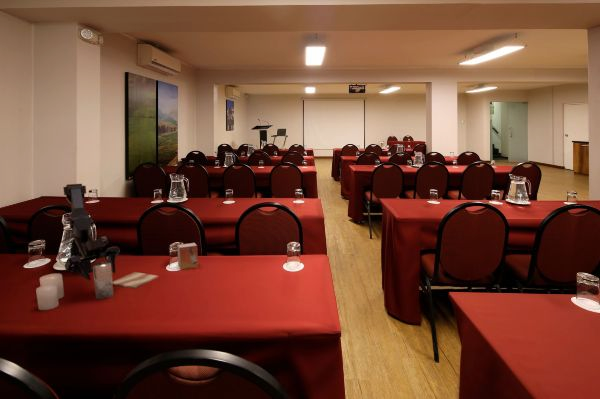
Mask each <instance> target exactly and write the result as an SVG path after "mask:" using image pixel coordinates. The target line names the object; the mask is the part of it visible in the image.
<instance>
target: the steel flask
mask: <svg viewBox="0 0 600 399" xmlns="http://www.w3.org/2000/svg"><path fill="white" fill-rule="evenodd" d="M92 268H93V270H92V272H93V281H94V283H93V284H94V294H95V295H94V296H95V299H97V300H106V299H110V298H111V297H113V296H114V286H113V285H114V284H113V283H112V282H113V272H112V271H111V262H106V261H99V262H96V263H93V264H92Z"/></svg>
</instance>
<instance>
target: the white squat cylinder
mask: <svg viewBox="0 0 600 399" xmlns="http://www.w3.org/2000/svg"><path fill="white" fill-rule="evenodd" d="M35 291H36V299H37V307H38V310H40V311H48V310H52V309H55V308H57V307H58V306H59V305H60V304H59V299H58V295H57V286H56V285H53V284H50V285H44V286H39V287H37V288H36V289H35Z"/></svg>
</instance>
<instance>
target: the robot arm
mask: <svg viewBox="0 0 600 399" xmlns="http://www.w3.org/2000/svg"><path fill="white" fill-rule="evenodd" d="M62 188H63V195H64V196H65V198H66V201H67V202H68V203H69V204H70V206H71V213H70V219H69V220H68V223H69V229H71V231H73V235H72V237H73V240H72V241H71V246H70V247H69V249H70V250H69V251H70V257H67V259H66V261H65V264H64V269H65V271H66V272H71V273H73V274H77V275H79V276H81V277H83V278H84V279H85V280H87V281H89V282H90V281H91V280H92V277H91V276H90V274H89V272H91V271H92V272H93V266H92V261H95V260H99V259H104V260H106V261H105V262H111V271H112V274H115V273H116V271H117V270H116V259H117V258H118V256H119V254H120V252H121V250H120V249H121V248H119V247H118V246H116V245H115V246H111V247H107V248H106V250H105V251H104V252H102V251H103V248H105V246H107V245H108V244H109V240H108V238H107V236H106V235H105V236H101V237H98V239H93V236H92V227H93V226H94V225H95V221H94V220H93V218H92V217H91V216H90V214H89V211H88V210H85V204H84V199H85V197H86V196H85V195H86V194H87V186H86V185H83V184H82V183H71V184H69V183H68V184H66V185H65V186H63V187H62Z"/></svg>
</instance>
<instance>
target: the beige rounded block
mask: <svg viewBox="0 0 600 399" xmlns="http://www.w3.org/2000/svg"><path fill="white" fill-rule="evenodd" d="M39 283H40V286H39V287H41V286H44V285H50V284H53V285H56V286H57V295H58V300H59V299H61V298H63V297H65V292H64V290H65V289H64V281H63V274H61V273H50V274H46V275H43V276H41V277H39Z"/></svg>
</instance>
